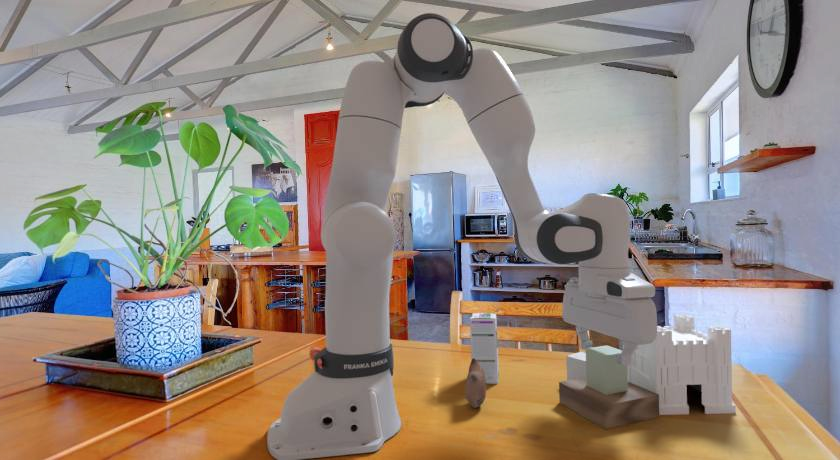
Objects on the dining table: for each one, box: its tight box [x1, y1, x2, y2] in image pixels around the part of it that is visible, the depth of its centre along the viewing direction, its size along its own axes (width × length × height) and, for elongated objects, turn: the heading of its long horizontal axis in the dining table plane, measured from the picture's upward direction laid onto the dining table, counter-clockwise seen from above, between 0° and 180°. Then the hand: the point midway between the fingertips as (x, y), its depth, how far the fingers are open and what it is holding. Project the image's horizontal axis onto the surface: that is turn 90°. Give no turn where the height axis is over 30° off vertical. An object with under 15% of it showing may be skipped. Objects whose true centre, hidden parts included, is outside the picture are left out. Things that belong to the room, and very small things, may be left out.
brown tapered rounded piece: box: [464, 358, 487, 409], centre depth 85 cm, size 9×4×8 cm, turn 175°
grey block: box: [566, 351, 586, 381], centre depth 94 cm, size 5×5×6 cm
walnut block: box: [558, 377, 660, 430], centre depth 81 cm, size 12×12×4 cm
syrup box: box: [469, 312, 500, 385], centre depth 98 cm, size 6×6×14 cm
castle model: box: [621, 313, 737, 416], centre depth 85 cm, size 14×14×15 cm
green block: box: [585, 344, 628, 395], centre depth 81 cm, size 5×5×7 cm
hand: (604, 356), depth 80 cm, fingers open, 8 cm apart
